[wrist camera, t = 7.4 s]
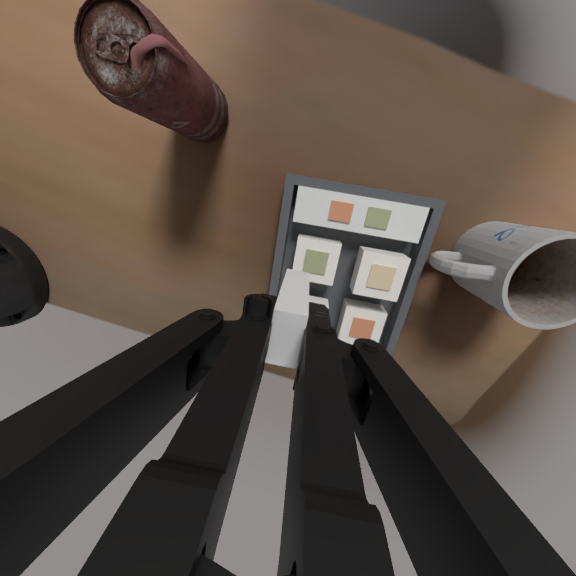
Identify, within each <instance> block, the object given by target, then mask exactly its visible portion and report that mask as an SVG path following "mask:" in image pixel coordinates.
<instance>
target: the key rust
mask: <svg viewBox="0 0 576 576" xmlns="http://www.w3.org/2000/svg"><path fill="white" fill-rule="evenodd" d="M387 315H388V314H387V312H386V310H385V309H384V307H383V305H380V304H375V303H369V302H364V301H359V300H353V299H348V298H344V300H343V304H342V308H341V312H340V316H339V320H338V324H337V328H336V332H337V338H338V339H340V340H342V341H344V342H346V343H349V344H352V345H353V343H354V341H355V340H356V339H358V338H365V339H371V340H374V341H376V342H377V343H379V340H380V337H381V333H382V330H383V327H384V324H385V321H386V318H387Z"/></svg>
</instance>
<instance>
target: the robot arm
mask: <svg viewBox="0 0 576 576" xmlns="http://www.w3.org/2000/svg"><path fill="white" fill-rule="evenodd" d="M309 276H310V273H308V272H303V271H297V270H292V269H287V271H286V274H285V277H284V280H283V283H282V286H281V289H280V292H279V295H278V296H273V295H267V294H250V295H247V296H246V297H245V298H244V306H243V314H242V316H241V318H240V320H235V321H223V314H222V313H221V312H218V311H216V310H212V309H201V310H197V311H194V312H192V313H190V314H189V315H187V316H185V317H183V318H182V319H180V320H178V321H176V322H175V323H173V324H171V325H169V326H168V327H166V328H164V329H162V330H161V331H159V332H157V333H155V334H153V335H152V336H150V337H148V338H147V339H145V340H143V341H141V342H139V343H138V344H136V345H134V346H132V347H131V348H129V349H127V350H125V351H124V352H122V353H120V354H118V355H117V356H115V357H113V358H112V359H110V360H108V361H106V362H104V363H102V364H101V365H99V366H97V367H95V368H94V369H92V370H90V371H88V372H87V373H85V374H83V375H81V376H80V377H78V378H76V379H74V380H73V381H71V382H69V383H67V384H66V385H64V386H62V387H60V388H59V389H57V390H55V391H53V392H51V393H50V394H48V395H46V396H44V397H43V398H41V399H39V400H37V401H36V402H34V403H32V404H31V405H29V406H27V407H25V408H23V409H22V410H20V411H18V412H16V413H14V414H13V415H11V416H9V417H7V418H6V419H4V420H2V421H0V576H19V575H20V574H22V573H23V571H24V570H25V569H26V568H27V567H28V566H29V565H30V564H31V563H32V562H33V561H34V560H35V559H36V558H37V557H38V556H39V555H40V554H41V553H42V552H43V551H44V550H45V549H46V548H47V547H48V546H49V545H50V544H51V543H52V542H53V541H54V540H55V539H56V537H58V536H59V535H60V534H61V532H62V531H63V530H64V529H65V528H66V527H67V526H68V525H69V524H70V523H71V522H72V521H73V520H74V519H75V518H76V517H77V516H78V515H79V514H80V513H81V512H82V511H83V510H84V509H85V508H86V507H87V506H88V505H89V504H90V503H91V502H92V500H94V498H95V497H96V496H97V495H98V494H99V493H100V492H101V491H102V490H103V489H104V488H105V487H106V486H107V485H108V484H109V483H110V482H111V481H112V480H113V479H114V478H115V477H116V476H117V475H118V474H119V473H120V472H121V471H122V470H123V469H124V468H125V467H126V466H127V465H128V464H129V463H130V462H131V461H132V459H133V458H134V457H135V456H136V455H137V454H138V453H139V452H140V451H141V450H142V449H143V448H144V447H145V446H146V445H147V444H148V443H149V442H150V441H151V440H152V439H153V438H154V437H155V436H156V435H157V434H158V433H159V432H160V431H161V430H162V429H163V428H164V427H165V425H167V424H168V422H169V421H170V420H171V419H172V418H173V417H174V416H175V415H176V414H177V413H178V412H179V411H180V410H181V409H182V408H183V407H184V406H185V405H186V404H187V403H188V402H189V401H190V400H191V399H192V398H193V397H194V396H195V394H197V393H198V394H197V396H196V398H195V399H194V401H193V403H192V405H191V406H190V408H189V410H188V412H187V414H186V415H185V417H184V419H183V421H182V423H181V424H180V426H179V428H178V429H177V431H176V433H175V435H174V437H173V438H172V440H171V442H170V444H169V445H168V447H167V449H166V451H165V453H164V454H163V455H162V457H161V458H160V459H159V460H151V461H150V462H149V463H147V464H146V466H145V467H144V468H143V470H142V471H141V473H140V474H139V476H138V477H137V479H136V480H135V482H134V484H133V485H132V487H131V489H130V490H129V492H128V494H127V495H126V497H125V498H124V500H123V502H122V503H121V505H120V507H119V509H118V510H117V512H116V513H115V515H114V517H113V518H112V520H111V521H110V523H109V525H108V526H107V528H106V530H105V531H104V533H103V534H102V536H101V538H100V539H99V541H98V543H97V544H96V546H95V548H94V549H93V551H92V553H91V554H90V556H89V557H88V559H87V561H86V563H85V564H84V566H83V567H82V569H81V570H80V572H79V574H78V575H77V576H236V575H234V574H233V573H231V572H229V571H228V570H226V569H225V568H223V567H222V566H220V565H219V564H217V563H215V562H214V561H213V559H214V555H215V551H216V546H217V542H218V539H219V535H220V531H221V528H222V524H223V520H224V516H225V513H226V509H227V505H228V501H229V498H230V494H231V490H232V486H233V483H234V479H235V475H236V471H237V467H238V464H239V460H240V456H241V453H242V449H243V445H244V441H245V438H246V434H247V430H248V426H249V423H250V419H251V415H252V412H253V408H254V404H255V400H256V397H257V392H258V389H259V385H260V382H261V377H262V374H263V370H264V365H265V363H269V364H274V365H279V366H284V367H289V368H294V369H297V372H296V377H295V381H294V386H293V390H294V401H293V412H292V423H291V434H290V446H289V456H288V467H287V479H286V490H285V501H284V513H283V523H282V535H281V546H280V556H279V565H278V573H277V576H395V575H394V571H393V566H392V562H391V557H390V552H389V548H388V543H387V538H386V534H385V529H384V525H383V521H382V518H381V515H380V512H379V510H378V509H377V507H376V505H372V504H369V503H368V501H367V499H366V495H365V491H364V485H363V479H362V473H361V468H360V462H359V456H358V451H357V445H356V440H355V434H356V436H357V438H358V441H359V443H360V445H361V447H362V450H363V452H364V454H365V457H366V459H367V461H368V463H369V466H370V468H371V470H372V472H373V475H374V477H375V479H376V481H377V484H378V486H379V488H380V491H381V493H382V495H383V497H384V500H385V502H386V504H387V507H388V508H389V511H390V513H391V516H392V518H393V520H394V523H395V525H396V527H397V529H398V532H399V534H400V536H401V538H402V541H403V543H404V545H405V547H406V550H407V552H408V554H409V556H410V559H411V561H412V563H413V566H414V568H415V570H416V573H417V575H418V576H576V575H575V574H574V573H573V571H572V570H571V569H570V568H569V567H568V566H567V564H566V563H565V562H564V561H563V559H562V558H561V557H560V556H559V555H558V553H557V552H556V551H555V550H554V549H553V548H552V546H551V545H550V544H549V543H548V542H547V540H546V539H545V538H544V537H543V536H542V534H541V533H540V532H539V531H538V530H537V529H536V527H535V526H534V525H533V524H532V523H531V522H530V520H529V519H528V518H527V517H526V515H525V514H524V513H523V512H522V511H521V510H520V508H519V507H518V506H517V505H516V504H515V502H514V501H513V500H512V499H511V498H510V496H509V495H508V494H507V493H506V492H505V491H504V490H503V488H502V487H501V486H500V485H499V483H498V482H497V481H496V480H495V479H494V478H493V476H492V475H491V474H490V473H489V472H488V470H487V469H486V468H485V467H484V466H483V464H482V463H481V462H480V461H479V460H478V458H476V456H475V455H474V454H473V453H472V451H471V450H470V449H469V448H468V447H467V446H466V444H465V443H464V442H463V441H462V439H461V438H460V437H459V436H458V435H457V434H456V432H455V431H454V430H453V429H452V428H451V426H450V425H449V424H448V423H447V422H446V420H445V419H444V418H443V417H442V416H441V415H440V413H439V412H438V411H437V410H436V409H435V407H434V406H433V405H432V404H431V403H430V401H429V400H428V399H427V398H426V397H425V396H424V394H423V393H422V392H421V391H420V390H419V388H418V387H417V386H416V385H415V384H414V382H413V381H412V380H411V379H410V378H409V377H408V375H407V374H406V373H405V372H404V371H403V369H402V368H401V367H400V366H399V365H398V363H397V362H396V361H395V360H394V359H393V357H392V356H391V355H390V354H389V353H388V352H387V350H386V349H385V348H384V347H383V346H382V345H381V344H379V343H377V342H376V341H374V340H371V339H365V338H358V339H356V340H355V341H354V343H353V345H351V344H349V343H346V342H344V341H342V340H340V339H338V338H337V332H336V331H335V329H334V328H333V327H331V322H330V315H329V309H328V308H327V307H326V306H325V305H323V304H318V303H313V302H309ZM47 297H48V284H47V279H46V275H45V272H44V270H43V268H42V266H41V264H40V262H39V260H38V259H37V257H36V256H35V254H34V253H33V252H32V250H31V249H30V248H29V247H28V246H27V245H26V244H25V243H24V242H23V241H22V240H21V239H20V238H18V237H17V236H16V235H14V234H13V233H11V232H10V231H8V230H6V229H4V228H2V227H0V327H4V326H10V325H14V324H18V323H20V322H22V321H25V320H27V319H30V318H32V317H34V316H36V315H37V314H39V313H40V312H41V311H42V309H43V308H44V306H45V304H46V301H47ZM297 366H298V368H297ZM354 432H355V434H354Z"/></svg>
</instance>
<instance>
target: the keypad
mask: <svg viewBox="0 0 576 576" xmlns="http://www.w3.org/2000/svg"><path fill="white" fill-rule="evenodd" d="M446 202H447V200H442V199H436V198H430V197H424V196H418V195H413V194H407V193H401V192H395V191H389V190H383V189H377V188H371V187H365V186H359V185H354V184H348V183H342V182H336V181H330V180H324V179H318V178H312V177H306V176H300V175H294V174H289V173H286V179H285V186H284V193H283V200H282V207H281V214H280V220H279V227H278V234H277V241H276V248H275V255H274V262H273V268H272V275H271V282H270V289H269V295H273V296H278V295H279V292H280V289H281V286H282V283H283V280H284V277H285V274H286V271H287V269H293V263H294V257H295V252H296V246H297V240H298V236H299V233H301V234H307V235H313V236H318V237H324V238H329V239H335V240H340V241H341V243H342V247H341V251H340V256H339V260H338V264H337V269H336V273H335V277H334V281H333V286H330V285H324V284H319V283H314V282H309V295H310V296H315V297H321V298H326V299H328V303H329V315H330V322H331V327H333V328H334V329H335V331H336V328H337V324H338V320H339V316H340V312H341V308H342V304H343V300H344V298H348V299H353V300H359V301H364V302H369V303H375V304H380V305H383V307H384V309H385V310H386V312H387V314H388V315H387V318H386V321H385V324H384V327H383V330H382V333H381V337H380V340H379V344H381V345H382V346H383V347H384V348H385V349H386V350H387V352H388V353H389V354H390V355H391V356H393V353H394V350H395V347H396V344H397V342H398V339H399V336H400V333H401V330H402V327H403V324H404V322H405V319H406V316H407V313H408V310H409V307H410V305H411V302H412V299H413V296H414V293H415V290H416V287H417V285H418V282H419V279H420V276H421V273H422V270H423V268H424V265H425V262H426V259H427V256H428V253H429V250H430V248H431V245H432V242H433V239H434V236H435V233H436V231H437V228H438V225H439V222H440V219H441V216H442V214H443V211H444V208H445V205H446ZM360 246H364V247H369V248H375V249H381V250H386V251H392V252H397V253H403V254H404V255H406V256H407V257H409V258H410V259H411V261H410V264H409V267H408V270H407V273H406V276H405V279H404V282H403V285H402V288H401V291H400V294H399V297H398V300H397V302H394V301H388V300H383V299H377V298H372V297H367V296H361V295H356V294H352V291H351V288H350V282H351V278H352V274H353V271H354V267H355V263H356V259H357V255H358V251H359V247H360ZM351 345H352V344H351Z"/></svg>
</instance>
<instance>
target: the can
mask: <svg viewBox="0 0 576 576" xmlns="http://www.w3.org/2000/svg"><path fill="white" fill-rule="evenodd" d="M74 43H75V48H76V53H77V57H78V60H79V62H80V64H81V66H82V69H83V71H84V72H85V74H86V75H87V76H88V78H89V79H90V80H91V82H92V83H93V84H94V85H95V86H96V88H97V89H98V90H99V92H100V93H101V94H102V95H103V96H105V97H106V98H107V99H108V100H110V101H111V102H112V103H114V104H116V105H118V106H121V107H123V108H125V109H127V110H129V111H132V112H134V113H136V114H138V115H140V116H143V117H145V118H147V119H149V120H151V121H154V122H156V123H158V124H160V125H162V126H165V127H167V128H169V129H171V130H174V131H176V132H178V133H180V134H182V135H185V136H187V137H189V138H191V139H194V140H196V141H199V142H208V141H211V140H213V139H215V138H217V137H218V136H219V135H220V134H221V133H222V131H223V130H224V128H225V126H226V123H227V119H228V105H227V102H226V99H225V95H224V94H223V92H222V91H221V89H220V88H219V86H218V85H217V84H216V83H215V82H214V81H213V80H212V79H211V77H210V76H209V75H208V74H207V73H206V72H205V71H204V70H203V69H202V67H201V66H200V65H199V64H198V63H197V62H196V61H195V60H194V59H193V57H192V56H191V55H190V54H189V53H188V52H187V51H186V50H185V49H184V47H183V46H182V45H181V44H180V43H179V42H178V41H177V40H176V38H175V37H174V36H173V35H172V34H171V33H170V32H169V31H168V30H167V28H166V27H165V26H164V25H163V24H162V23H161V22H160V21H159V20H158V18H157V17H156V16H155V15H154V14H153V13H152V12H151V11H150V10H149V9H148V8H147V7H146V6H144V5H143V4H142V3H141V2H140V1H139V0H86V1H85V2H84V4H83V5H82V6H81V7H80V9H79V12H78V15H77V18H76V21H75V26H74Z"/></svg>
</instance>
